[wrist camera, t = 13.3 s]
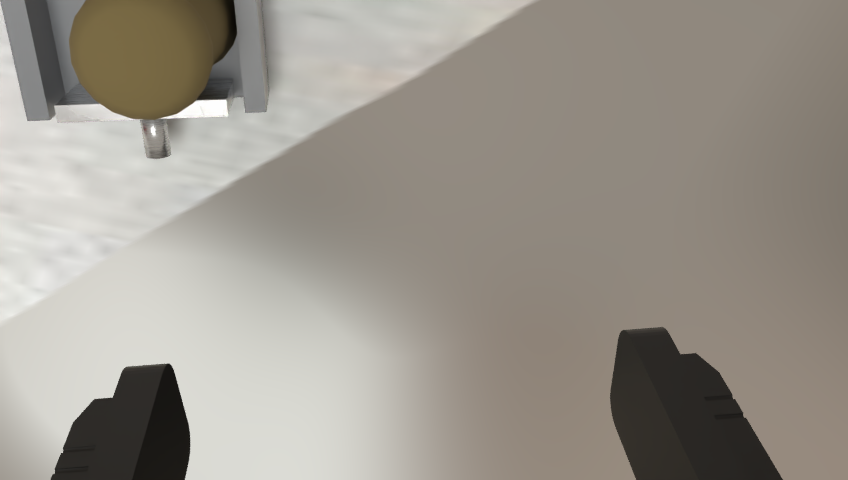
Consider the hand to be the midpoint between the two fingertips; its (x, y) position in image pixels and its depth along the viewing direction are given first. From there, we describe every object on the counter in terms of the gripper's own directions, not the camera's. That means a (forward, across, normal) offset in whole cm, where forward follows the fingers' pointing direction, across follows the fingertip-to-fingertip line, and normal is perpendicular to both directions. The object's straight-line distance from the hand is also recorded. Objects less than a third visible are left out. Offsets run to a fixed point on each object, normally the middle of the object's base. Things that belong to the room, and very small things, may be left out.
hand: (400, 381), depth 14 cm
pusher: (+27, +11, +6) cm, 30 cm away
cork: (+29, +9, +1) cm, 30 cm away
